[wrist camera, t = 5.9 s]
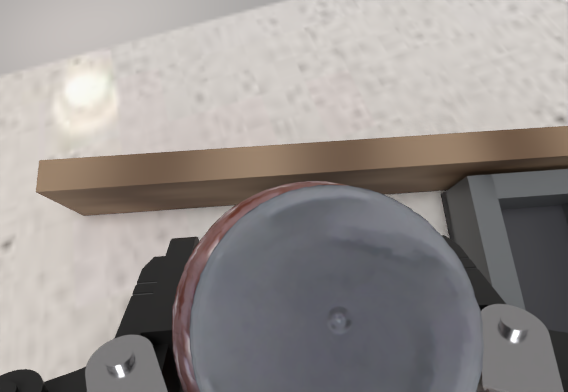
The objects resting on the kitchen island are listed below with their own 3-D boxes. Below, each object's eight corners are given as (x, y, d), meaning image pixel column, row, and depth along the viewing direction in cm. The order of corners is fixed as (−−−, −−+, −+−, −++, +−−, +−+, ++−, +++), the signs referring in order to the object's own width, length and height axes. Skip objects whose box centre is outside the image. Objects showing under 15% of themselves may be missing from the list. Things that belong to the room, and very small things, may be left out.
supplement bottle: (221, 246, 17) (117, 126, 6) (357, 235, 17) (503, 99, 6) (227, 399, 15) (96, 635, 4) (378, 384, 15) (634, 569, 4)
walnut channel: (560, 157, 18) (624, 122, 15) (649, 448, 15) (759, 488, 11) (85, 189, 17) (39, 160, 14) (62, 506, 14) (-7, 568, 10)
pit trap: (569, 185, 18) (614, 165, 15) (636, 407, 15) (705, 426, 13) (441, 194, 17) (467, 175, 15) (487, 421, 15) (527, 442, 12)
